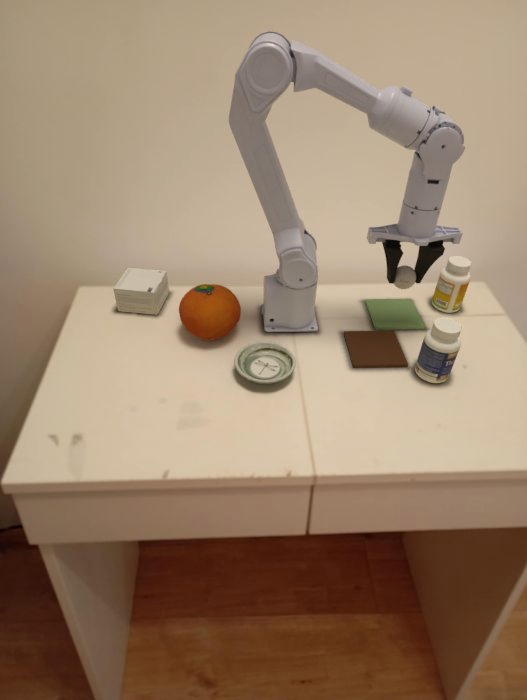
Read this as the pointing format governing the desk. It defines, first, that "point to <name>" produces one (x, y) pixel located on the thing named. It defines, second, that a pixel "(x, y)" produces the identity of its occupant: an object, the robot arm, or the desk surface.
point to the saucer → (265, 362)
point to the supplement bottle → (452, 284)
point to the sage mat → (394, 314)
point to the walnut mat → (374, 349)
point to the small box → (141, 291)
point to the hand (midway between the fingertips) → (403, 280)
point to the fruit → (209, 311)
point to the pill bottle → (439, 350)
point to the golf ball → (405, 277)
